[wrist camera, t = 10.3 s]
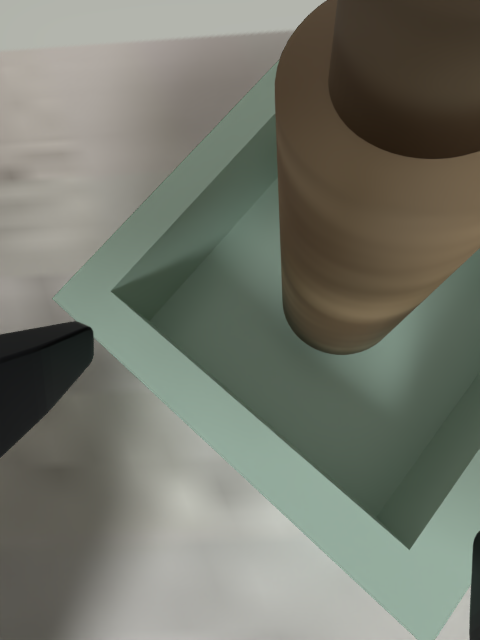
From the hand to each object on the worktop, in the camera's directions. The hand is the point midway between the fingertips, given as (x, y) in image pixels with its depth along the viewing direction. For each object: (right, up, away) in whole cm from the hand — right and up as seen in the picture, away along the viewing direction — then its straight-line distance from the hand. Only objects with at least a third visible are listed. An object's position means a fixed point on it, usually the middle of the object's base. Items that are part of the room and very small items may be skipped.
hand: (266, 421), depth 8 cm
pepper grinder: (+4, +3, +9) cm, 10 cm away
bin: (+4, +3, +9) cm, 11 cm away
